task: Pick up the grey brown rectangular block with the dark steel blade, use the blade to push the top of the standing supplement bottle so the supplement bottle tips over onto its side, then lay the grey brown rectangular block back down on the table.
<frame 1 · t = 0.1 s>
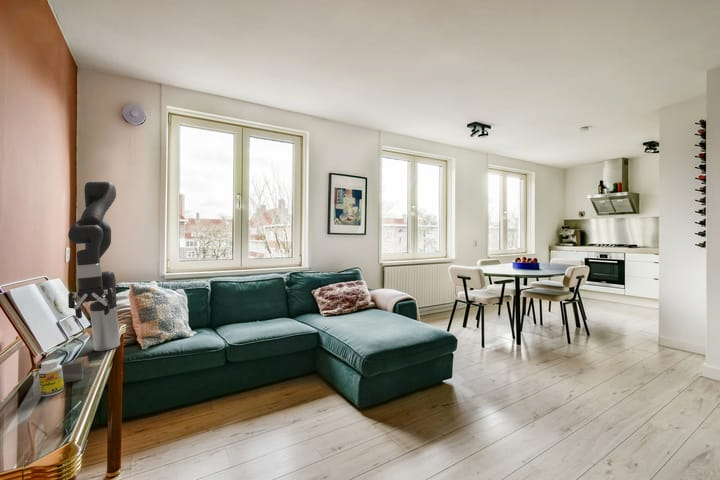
hand: (93, 316, 134), 17 cm above the table, tool pointing down, fingers open, 8 cm apart
supplement bottle: (52, 393, 108), on the table
grey brown rectangular block: (73, 378, 118), on the table
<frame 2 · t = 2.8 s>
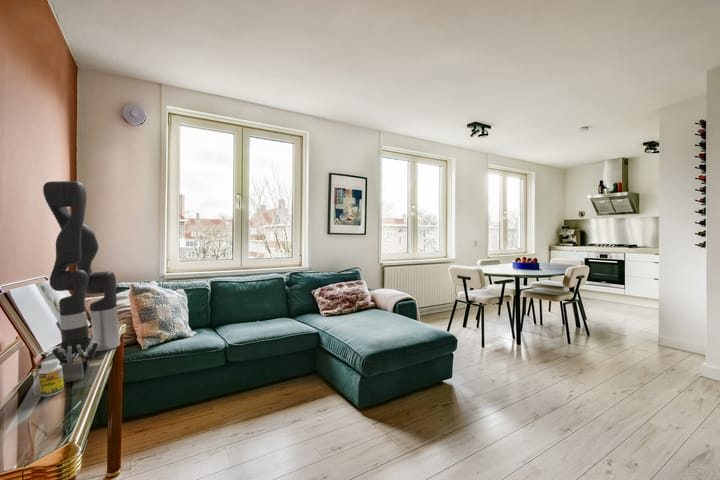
hand: (79, 371, 123), 0 cm above the table, tool pointing down, fingers closed on grey brown rectangular block, 2 cm apart
grey brown rectangular block: (74, 377, 119), on the table, touching gripper
everything else where it was.
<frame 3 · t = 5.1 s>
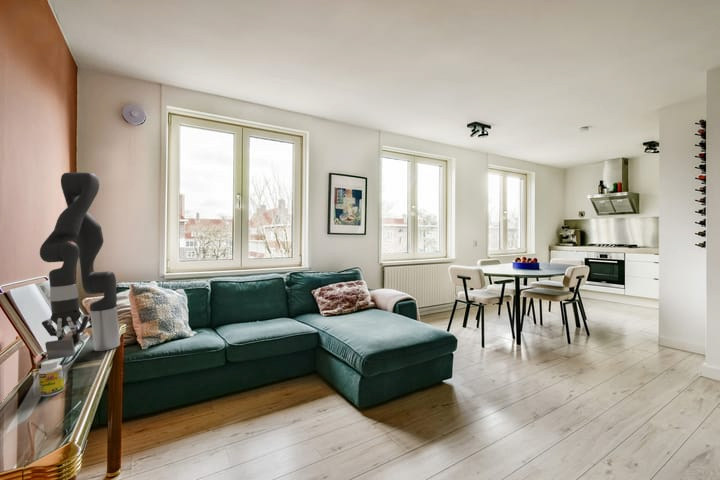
hand: (69, 345, 121), 10 cm above the table, tool pointing down, fingers closed on grey brown rectangular block, 3 cm apart
grey brown rectangular block: (65, 353, 118), point 9 cm above the table, tilted 8°, touching gripper
everything else where it was.
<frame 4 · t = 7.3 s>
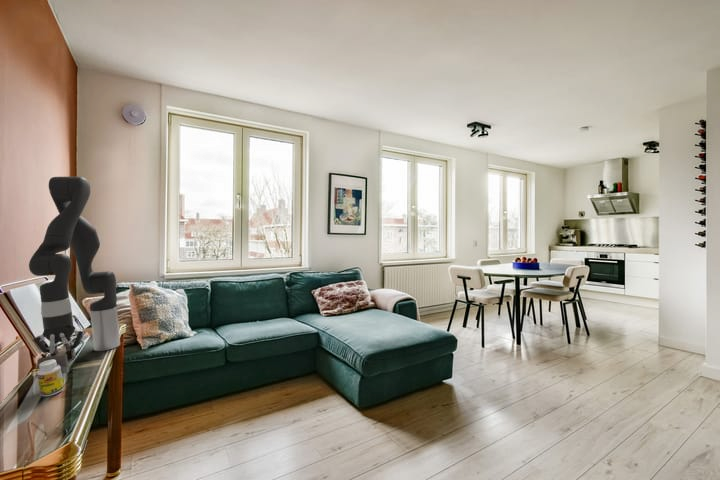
hand: (63, 361, 116), 7 cm above the table, tool pointing down, fingers closed on grey brown rectangular block, 3 cm apart
supplement bottle: (52, 392, 108), on the table, touching grey brown rectangular block
grey brown rectangular block: (58, 370, 112), point 5 cm above the table, tilted 6°, touching supplement bottle, gripper
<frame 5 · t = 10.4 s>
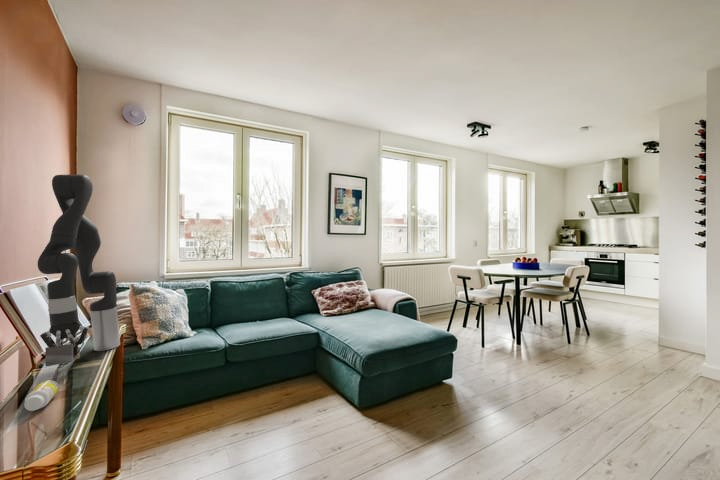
hand: (68, 357, 120), 7 cm above the table, tool pointing down, fingers closed on grey brown rectangular block, 3 cm apart
supplement bottle: (48, 388, 105), point 3 cm above the table
grey brown rectangular block: (63, 362, 116), point 6 cm above the table, tilted 13°, touching gripper
when the fingers open (1 cm above the table, at t = 13.5 s): grey brown rectangular block drops 2 cm, on the table.
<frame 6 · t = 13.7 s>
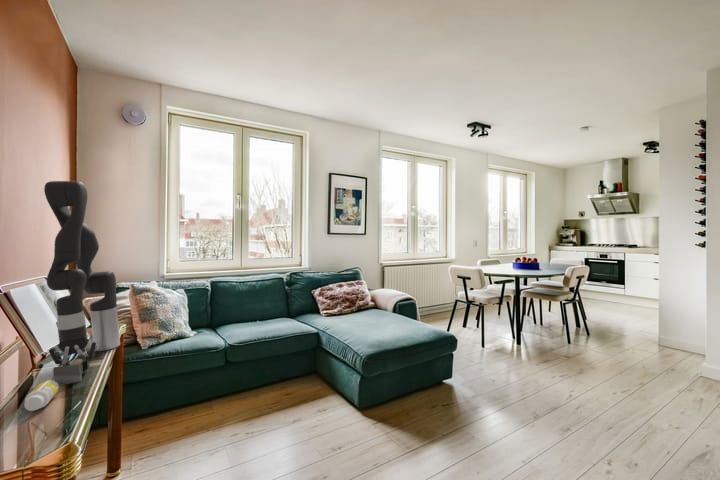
hand: (76, 372, 121), 1 cm above the table, tool pointing down, fingers open, 4 cm apart
grey brown rectangular block: (71, 379, 117), on the table
everything else where it was.
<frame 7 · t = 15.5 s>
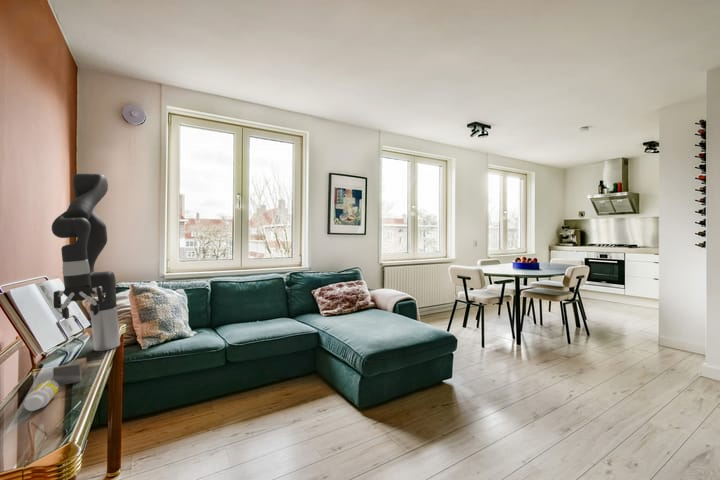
hand: (81, 316, 124), 20 cm above the table, tool pointing down, fingers open, 8 cm apart
nothing on the table moved.
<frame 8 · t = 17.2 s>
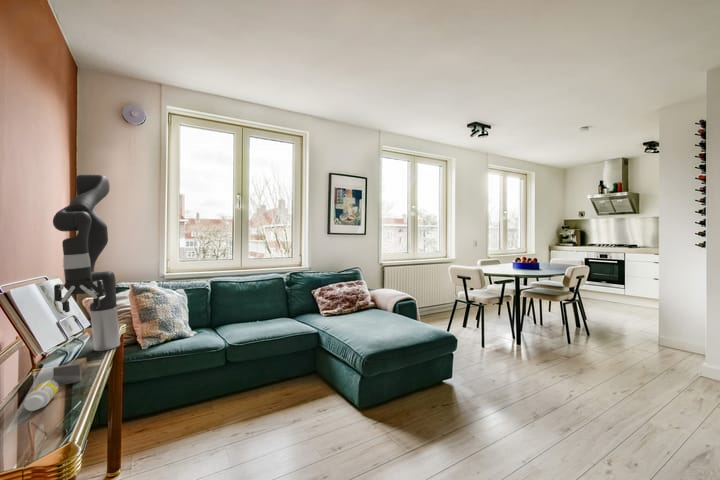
hand: (81, 310, 124), 22 cm above the table, tool pointing down, fingers open, 8 cm apart
nothing on the table moved.
at the end: supplement bottle tilted 90°; supplement bottle inside the target area (4.7 cm from its centre), point 2.7 cm above the table; grey brown rectangular block on the table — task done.
